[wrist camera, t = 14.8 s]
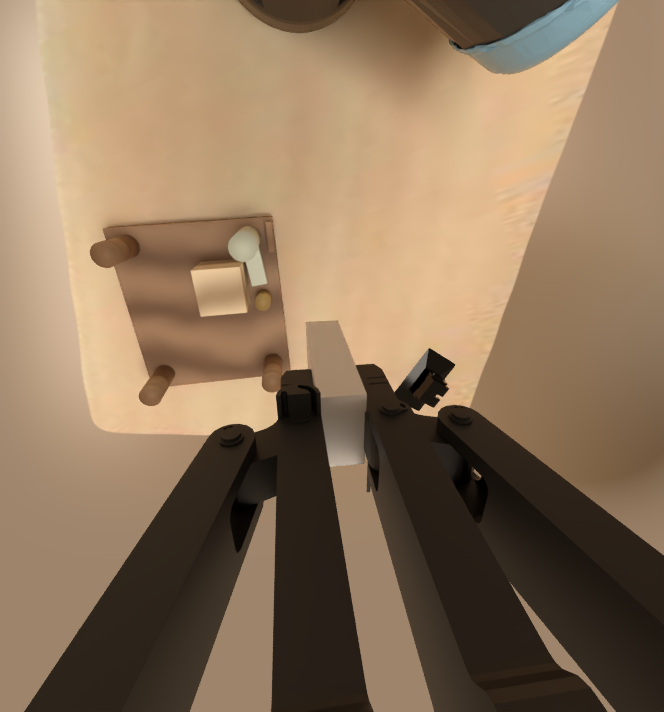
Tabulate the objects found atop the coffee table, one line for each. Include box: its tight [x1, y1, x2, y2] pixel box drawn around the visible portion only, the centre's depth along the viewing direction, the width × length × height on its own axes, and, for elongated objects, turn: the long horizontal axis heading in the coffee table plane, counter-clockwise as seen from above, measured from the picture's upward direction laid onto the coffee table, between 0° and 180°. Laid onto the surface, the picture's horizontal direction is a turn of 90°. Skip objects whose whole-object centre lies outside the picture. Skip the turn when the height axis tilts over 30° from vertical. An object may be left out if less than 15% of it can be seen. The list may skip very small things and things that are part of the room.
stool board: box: [90, 216, 290, 406], centre depth 42 cm, size 20×18×8 cm
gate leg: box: [228, 226, 268, 286], centre depth 38 cm, size 6×3×8 cm, turn 9°
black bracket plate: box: [395, 348, 455, 411], centre depth 52 cm, size 12×7×5 cm, turn 147°
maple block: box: [191, 259, 251, 317], centre depth 40 cm, size 5×5×5 cm
